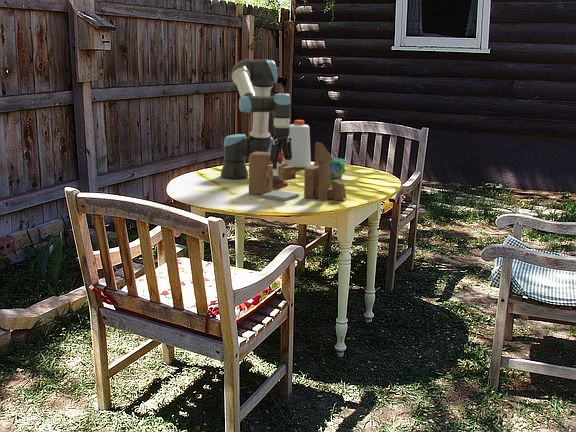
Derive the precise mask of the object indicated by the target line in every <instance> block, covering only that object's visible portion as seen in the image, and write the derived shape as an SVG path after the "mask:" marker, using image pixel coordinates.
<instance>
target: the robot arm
mask: <svg viewBox="0 0 576 432" xmlns="http://www.w3.org/2000/svg"><path fill="white" fill-rule="evenodd" d="M230 74H231V79H232V82H233V83H234V84H236V85H235V86H236V87H237V90H238V94H239V96H240V97H239V99H238V107H239V111H240V112H241V113H252V129H251V130H250V132H249V135H248V136H246V134H244V133H236V134H230V135H227V136H225V137H224V138H223V165H222V168H221V171H220V177H221V178H223V179H226V180H243V179H247V178H249V171H248V169H247V168H248V167H247V166H246V159H249V155H250V154H251V153H253V152H271V154H270V161H271V162H273V176H278V169H279V162H278V158H279V154H280V153H281V150H282V153H283V161H282V164H283V165H289V160H291V158H292V149H291V138H288V136H289V135H290V128H289V126H290V125H291V124H290V123H291V103H292V102H291V94H289V93H284V92H283V93H275V94H274V95H273V96H271V89H272V88H273V87H274V86H275V83H277V82H278V79H279V78H278V68H277V64H276V62H275V61H274V60H272V59H249V58H248V59H247V58H246V59H242V60H240V61H238V62H237V63H236V64H235V65H234V66H233V68H232V69H231V73H230ZM270 113H273V126H274V127H273V135H274V136H275V139H273V137H272V136H271V133H270V132H269V122H270V121H269V120H270Z"/></svg>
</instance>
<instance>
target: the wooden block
mask: <svg viewBox="0 0 576 432" xmlns="http://www.w3.org/2000/svg"><path fill="white" fill-rule="evenodd" d="M270 154H271V152H253V153H251V154H250V155H249V158H248V194H249V195H255V196H257V195H258V196H262V194H266V193H269V192H273V188H274V187H273V179H271V178H266V165H270V164H273V162H271V161H270Z"/></svg>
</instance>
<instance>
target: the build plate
mask: <svg viewBox="0 0 576 432" xmlns="http://www.w3.org/2000/svg"><path fill="white" fill-rule="evenodd" d="M299 196H300V194H299V193H296V192H289V191H283V190H274V191H273V190H272V192H269V193H266V194H262V195H261V198H262V199H266V200H267V199H268V200H272V201H273V200H274V201H279V202H286V201H290V200H294V199H296V198H299Z"/></svg>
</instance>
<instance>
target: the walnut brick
mask: <svg viewBox="0 0 576 432" xmlns="http://www.w3.org/2000/svg"><path fill="white" fill-rule="evenodd" d="M296 172H297V168H296V166H290V165H283V163H282V164H279V169H278V176H273V164H270V165H266V178H271V179H277V180H282V181H284V182H288V181H292V180H296V177H297V175H296V174H297V173H296Z"/></svg>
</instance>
